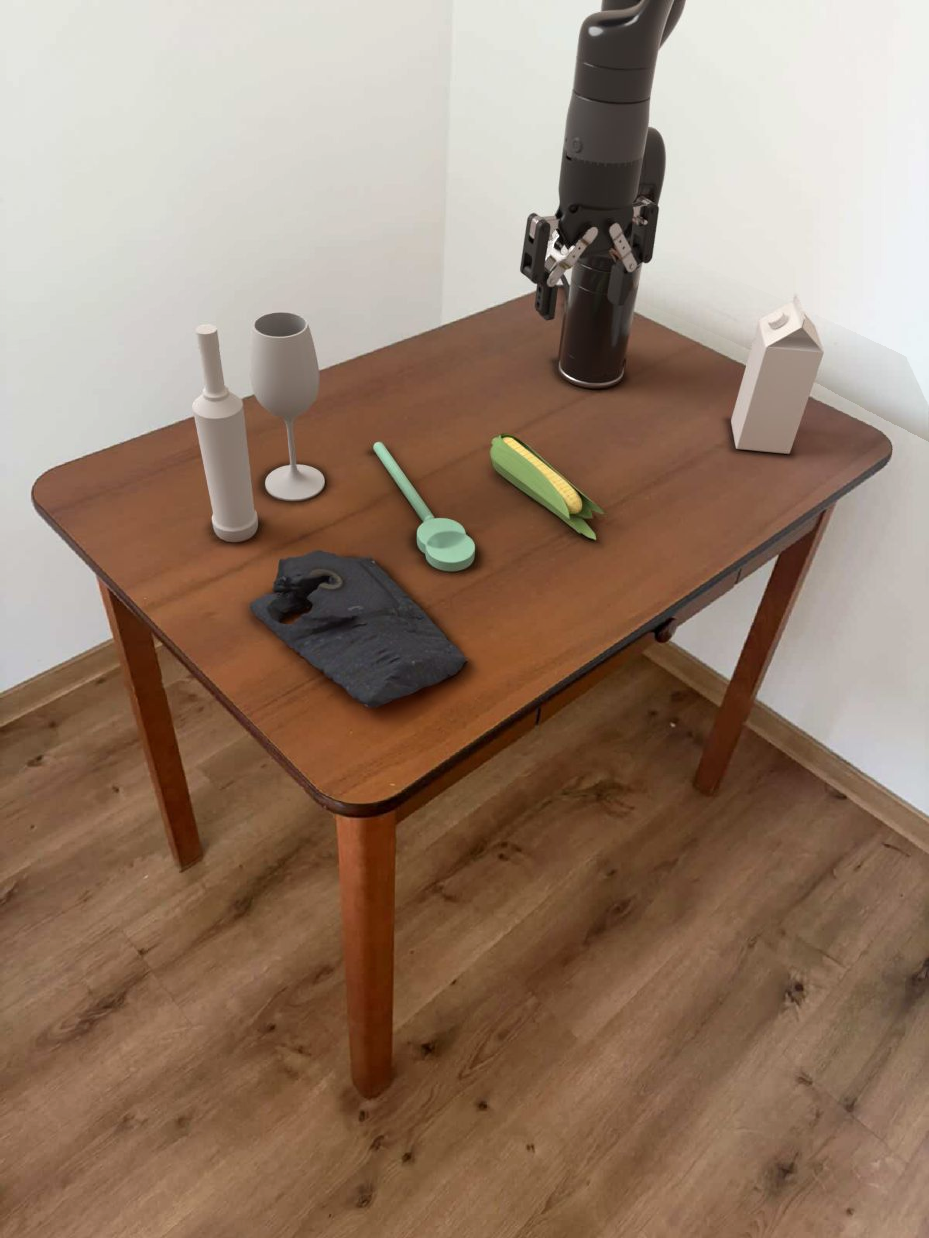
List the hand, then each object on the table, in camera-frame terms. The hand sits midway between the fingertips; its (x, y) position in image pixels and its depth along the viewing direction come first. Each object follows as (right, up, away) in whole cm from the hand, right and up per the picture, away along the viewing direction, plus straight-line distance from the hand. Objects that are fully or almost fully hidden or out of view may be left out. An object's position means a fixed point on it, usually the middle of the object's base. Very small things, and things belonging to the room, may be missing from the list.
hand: (580, 310), depth 100 cm
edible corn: (-3, -18, +18) cm, 25 cm away
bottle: (-39, -22, +11) cm, 46 cm away
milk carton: (+28, -8, +30) cm, 42 cm away
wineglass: (-33, -16, +18) cm, 41 cm away
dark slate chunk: (-23, -34, 0) cm, 41 cm away
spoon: (-18, -19, +16) cm, 30 cm away
